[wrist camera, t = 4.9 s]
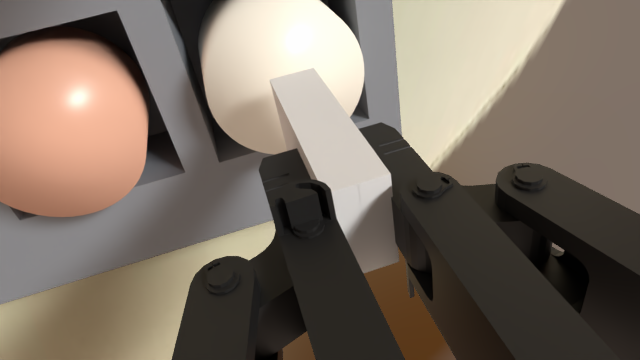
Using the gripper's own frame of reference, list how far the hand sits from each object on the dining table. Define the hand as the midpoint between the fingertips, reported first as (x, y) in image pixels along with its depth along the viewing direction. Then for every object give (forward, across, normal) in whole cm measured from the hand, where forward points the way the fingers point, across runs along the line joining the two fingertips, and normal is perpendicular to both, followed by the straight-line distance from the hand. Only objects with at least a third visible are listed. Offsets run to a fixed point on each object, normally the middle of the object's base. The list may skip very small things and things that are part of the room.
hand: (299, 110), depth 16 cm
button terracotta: (+6, -8, 0) cm, 11 cm away
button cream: (+6, 0, 0) cm, 6 cm away
